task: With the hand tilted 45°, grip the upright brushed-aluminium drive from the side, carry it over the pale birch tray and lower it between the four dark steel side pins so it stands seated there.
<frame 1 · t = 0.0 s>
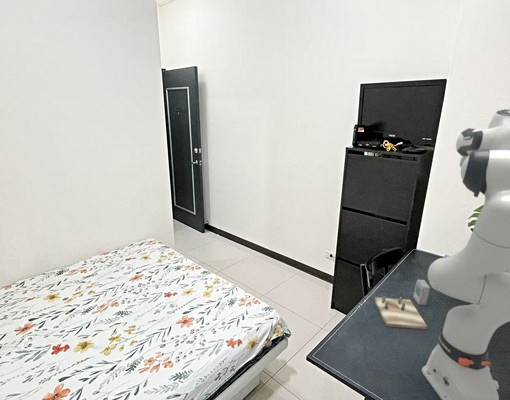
hand: (485, 177, 119), 54 cm above the table, tool tilted 30°, fingers open, 8 cm apart
ink cartridge box: (444, 281, 142), on the table
drive: (419, 300, 128), on the table
pin tray: (392, 308, 122), on the table
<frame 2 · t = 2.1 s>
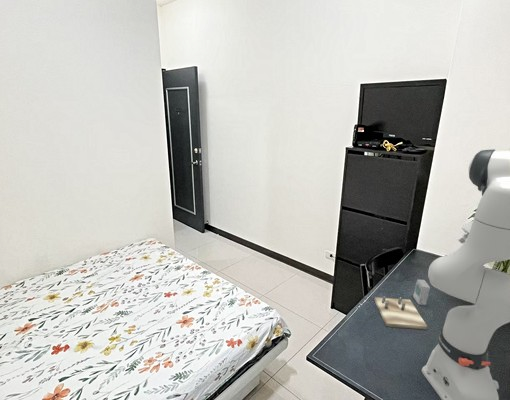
hand: (466, 247, 118), 27 cm above the table, tool tilted 45°, fingers open, 8 cm apart
nothing on the table moved.
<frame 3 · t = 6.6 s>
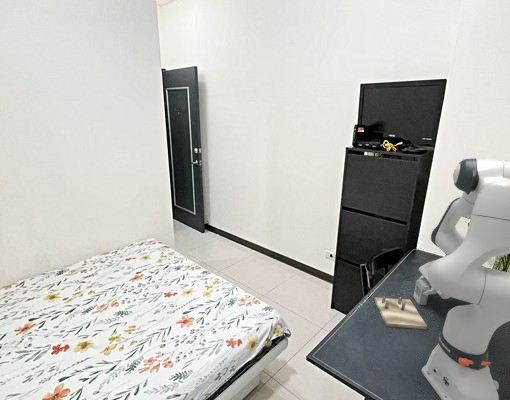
hand: (420, 289, 126), 6 cm above the table, tool tilted 45°, fingers closed on drive, 5 cm apart
drive: (419, 300, 128), on the table, touching gripper
everything else where it was.
when the fingers open (8 cm above the table, at t = 12.0 s): drive stays where it is, resting on pin tray.
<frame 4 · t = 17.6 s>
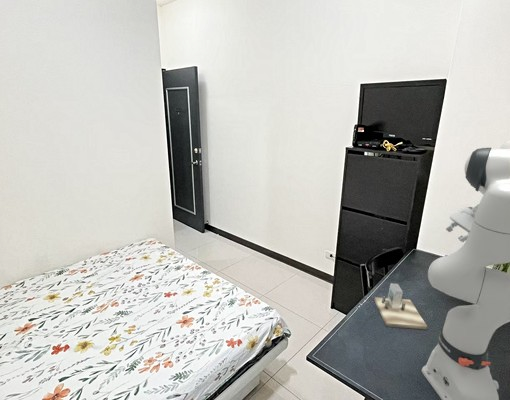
hand: (453, 235, 119), 31 cm above the table, tool tilted 45°, fingers open, 8 cm apart
drive: (392, 305, 122), point 2 cm above the table, touching pin tray
everything else where it was.
at the end: drive 0.1 cm off-centre on the pin tray, point 1.6 cm above the pin tray's base; drive tilted 0°; the gripper is holding nothing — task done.
